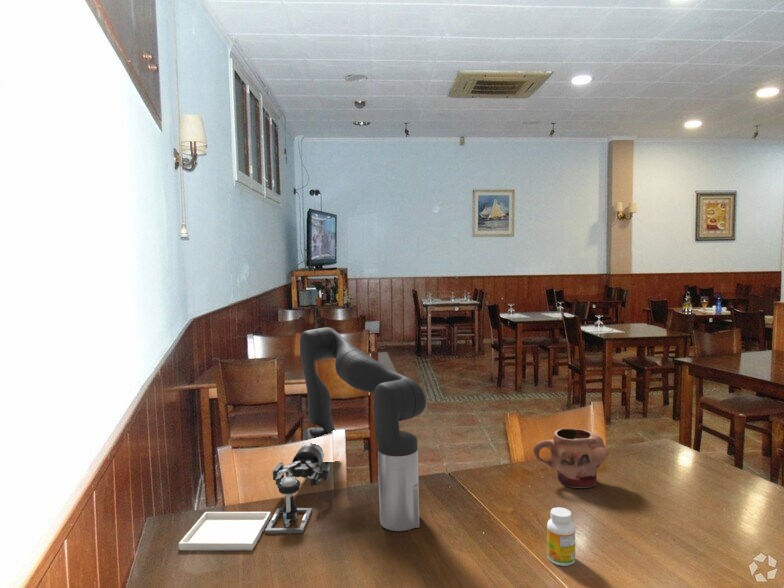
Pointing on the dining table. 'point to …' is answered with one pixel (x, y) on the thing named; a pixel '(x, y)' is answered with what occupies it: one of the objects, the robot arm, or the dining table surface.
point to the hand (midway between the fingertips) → (295, 482)
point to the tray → (226, 531)
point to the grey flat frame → (272, 530)
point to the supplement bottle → (561, 537)
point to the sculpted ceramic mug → (574, 456)
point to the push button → (289, 498)
